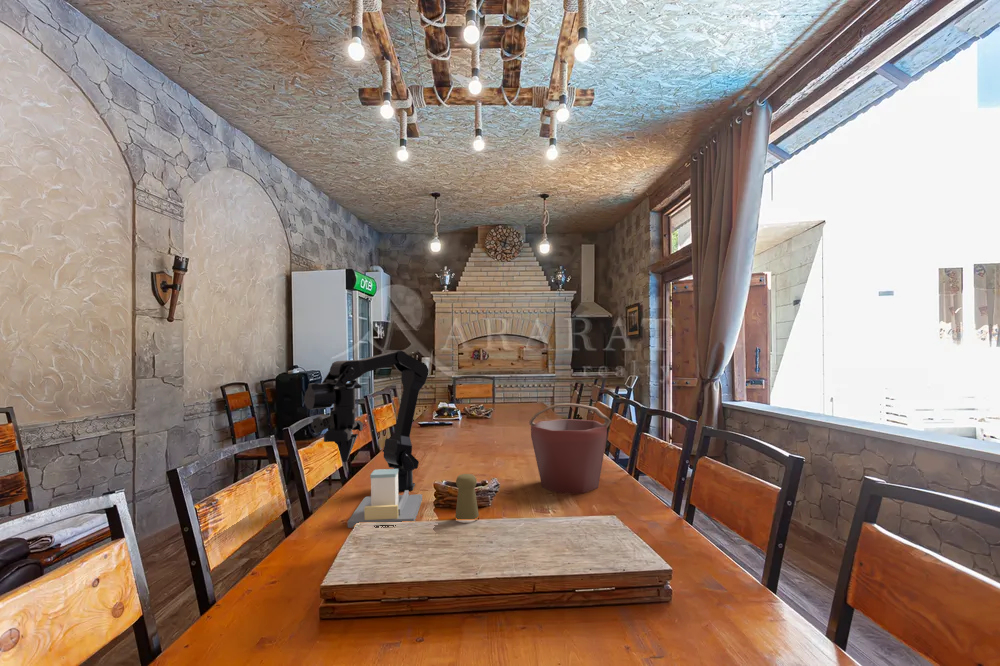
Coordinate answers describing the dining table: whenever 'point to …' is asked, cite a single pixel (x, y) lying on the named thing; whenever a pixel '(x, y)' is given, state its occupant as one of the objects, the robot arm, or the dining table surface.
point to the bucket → (569, 451)
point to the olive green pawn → (466, 497)
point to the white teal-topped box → (384, 487)
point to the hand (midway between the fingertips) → (344, 461)
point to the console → (387, 510)
